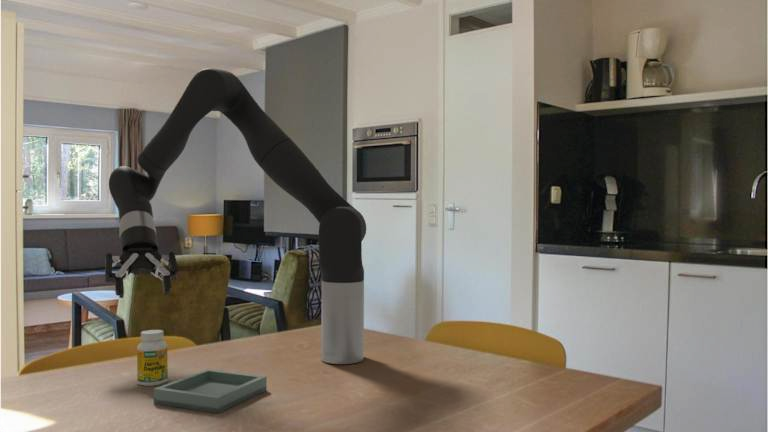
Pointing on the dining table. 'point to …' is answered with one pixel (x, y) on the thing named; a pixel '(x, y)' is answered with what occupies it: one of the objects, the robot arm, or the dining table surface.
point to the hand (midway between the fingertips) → (144, 294)
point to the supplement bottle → (152, 359)
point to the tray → (210, 390)
